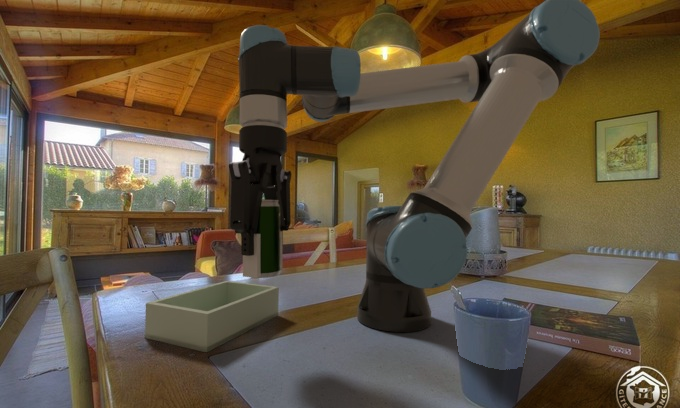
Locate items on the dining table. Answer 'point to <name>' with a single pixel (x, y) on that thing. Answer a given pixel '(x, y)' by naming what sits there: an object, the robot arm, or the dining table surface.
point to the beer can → (269, 238)
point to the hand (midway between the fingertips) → (263, 272)
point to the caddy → (210, 314)
